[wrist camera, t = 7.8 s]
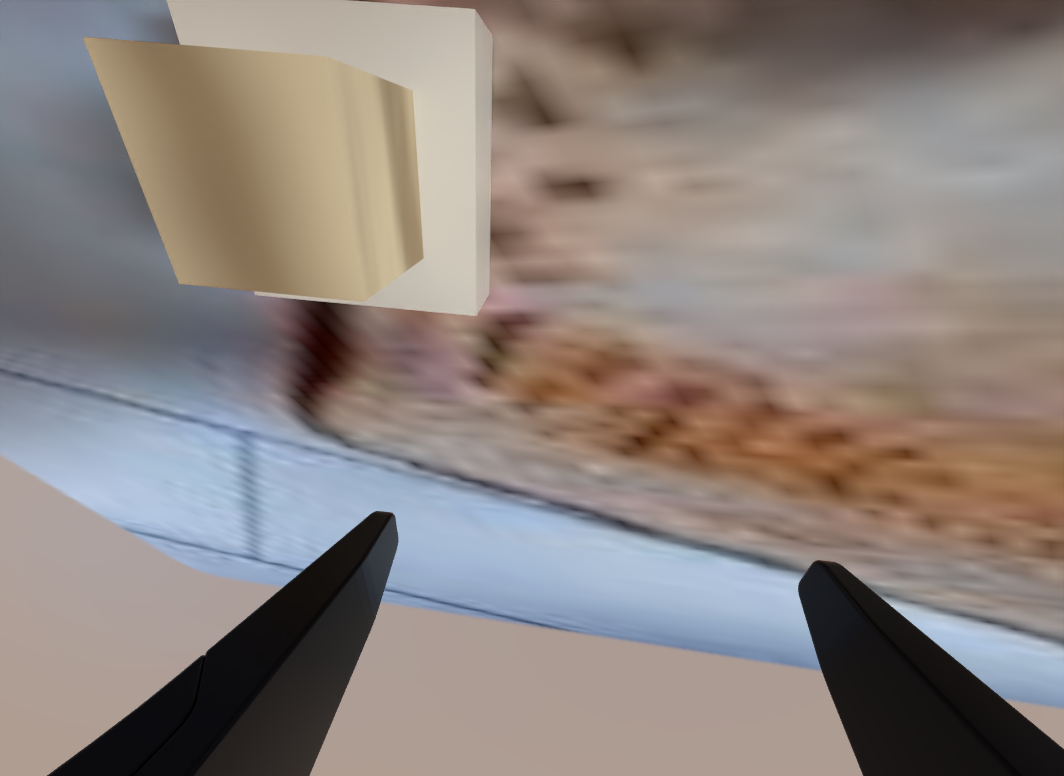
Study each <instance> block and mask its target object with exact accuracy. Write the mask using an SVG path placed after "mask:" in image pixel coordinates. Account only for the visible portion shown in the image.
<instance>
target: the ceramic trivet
mask: <svg viewBox="0 0 1064 776" xmlns="http://www.w3.org/2000/svg"><path fill="white" fill-rule="evenodd" d="M167 3H168V6H169V10H170V13H171V16H172V20H173V23H174V26H175V29H176V33H177V36H178V39H179V43H180V45H191V46H204V47H216V48H229V49H241V50H253V51H266V52H278V53H291V54H303V55H315V56H327V57H329V58H332V59H334V60H337V61H340V62H342V63H345V64H347V65H350V66H352V67H355V68H357V69H360V70H362V71H365V72H367V73H370V74H372V75H375V76H377V77H380V78H382V79H385V80H387V81H390V82H392V83H395V84H397V85H400V86H402V87H405V88H407V89H410V90H413V103H414V118H415V133H416V148H417V163H418V179H419V194H420V209H421V224H422V239H423V254H424V258H423V259H422V260H421V261H419V262H418V263H417V264H415V265H414V266H413V267H411V268H410V269H408V270H407V271H406V272H404V273H403V274H402V275H400V276H399V277H397V278H396V279H395V280H393V281H392V282H391V283H389V284H388V285H387V286H385V287H384V288H382V289H381V290H380V291H378V292H377V293H376V294H374V295H373V296H371V297H370V298H369V299H367V300H366V301H365V302H358V301H348V300H338V299H328V298H318V297H308V296H298V295H288V294H277V293H267V292H257V291H254V292H255V295H259V296H269V297H280V298H291V299H301V300H312V301H322V302H333V303H344V304H354V305H365V306H376V307H386V308H397V309H408V310H418V311H429V312H439V313H450V314H461V315H471V316H477V314H478V312H479V311H480V309H481V307H482V305H483V303H484V302H485V300H486V298H487V296H488V295H489V287H490V209H491V130H492V52H493V36H492V34H491V33H490V31H489V30H488V28H487V27H486V25H485V24H484V22H483V21H482V19H481V18H480V16H479V14H478V13H477V11H476V10H475V9H467V8H452V7H438V6H423V5H408V4H394V3H379V2H364V1H350V0H167Z"/></svg>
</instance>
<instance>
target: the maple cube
mask: <svg viewBox="0 0 1064 776" xmlns="http://www.w3.org/2000/svg"><path fill="white" fill-rule="evenodd" d="M83 39H84V42H85V44H86V47H87V50H88V52H89V55H90V57H91V60H92V62H93V65H94V67H95V70H96V73H97V75H98V78H99V80H100V83H101V85H102V88H103V90H104V93H105V96H106V98H107V101H108V103H109V106H110V108H111V111H112V113H113V116H114V119H115V121H116V124H117V126H118V129H119V131H120V134H121V136H122V139H123V142H124V144H125V147H126V149H127V152H128V154H129V157H130V159H131V162H132V165H133V167H134V170H135V172H136V175H137V177H138V180H139V182H140V185H141V188H142V190H143V193H144V195H145V198H146V200H147V203H148V205H149V208H150V211H151V213H152V216H153V218H154V221H155V223H156V226H157V228H158V231H159V234H160V236H161V239H162V241H163V244H164V246H165V249H166V251H167V254H168V257H169V259H170V262H171V264H172V267H173V269H174V272H175V274H176V277H177V280H178V282H179V284H187V285H197V286H207V287H217V288H227V289H237V290H247V291H257V292H267V293H277V294H288V295H298V296H308V297H318V298H328V299H338V300H348V301H358V302H365V301H366V300H367V299H369V298H370V297H371V296H373V295H374V294H376V293H377V292H378V291H380V290H381V289H382V288H384V287H385V286H387V285H388V284H389V283H391V282H392V281H393V280H395V279H396V278H397V277H399V276H400V275H402V274H403V273H404V272H406V271H407V270H408V269H410V268H411V267H413V266H414V265H415V264H417V263H418V262H419V261H421V260H422V259H423V258H424V254H423V239H422V224H421V209H420V194H419V179H418V163H417V148H416V133H415V118H414V103H413V90H410V89H407V88H405V87H402V86H400V85H397V84H395V83H392V82H390V81H387V80H385V79H382V78H380V77H377V76H375V75H372V74H370V73H367V72H365V71H362V70H360V69H357V68H355V67H352V66H350V65H347V64H345V63H342V62H340V61H337V60H334V59H332V58H329V57H327V56H315V55H303V54H291V53H278V52H266V51H253V50H241V49H229V48H216V47H204V46H191V45H179V44H167V43H154V42H142V41H129V40H117V39H105V38H92V37H83Z"/></svg>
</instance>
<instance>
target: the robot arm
mask: <svg viewBox="0 0 1064 776" xmlns="http://www.w3.org/2000/svg"><path fill="white" fill-rule="evenodd" d="M397 546H398V532H397V526H396V519H395V515H394V514H393V513H391V512H382V511H376V512H373V513H372V514H370V515H369V516H368V517H367V518H366V519H364V520H363V521H362V522H361V523H360V524H358V525H357V526H356V527H355V528H354V529H352V530H351V531H350V532H349V533H348V534H346V535H345V536H344V537H343V538H342V539H340V540H339V541H338V542H337V543H336V544H334V545H333V546H332V547H331V548H330V549H328V550H327V551H326V552H325V553H324V554H322V555H321V556H320V557H319V558H318V559H317V560H315V561H314V562H313V563H312V564H311V565H309V566H308V567H307V568H306V569H305V570H303V571H302V572H301V573H300V574H299V575H297V576H296V577H295V578H294V579H293V580H291V581H290V582H289V583H288V584H287V585H285V586H284V587H283V588H282V589H281V590H279V591H278V592H277V593H276V594H275V595H273V596H272V597H271V598H270V599H269V600H267V601H266V602H265V603H264V604H263V605H262V606H260V607H259V608H258V609H257V610H256V611H254V612H253V613H252V614H251V615H250V616H248V617H247V618H246V619H245V620H244V621H243V622H241V623H240V624H239V625H238V626H236V627H235V628H234V629H233V630H232V631H231V632H229V633H228V634H227V635H226V636H224V638H222V639H221V640H220V641H218V642H217V643H216V644H215V645H214V646H213V647H211V648H210V649H209V650H208V651H207V652H206V655H202V656H200V657H199V658H198V659H197V660H196V661H194V662H193V663H192V664H191V665H190V666H188V667H187V668H186V669H185V670H184V671H182V672H181V673H180V674H179V675H178V676H176V677H175V678H174V679H173V680H172V681H170V682H169V683H168V684H167V685H165V686H164V687H163V688H161V689H160V690H159V691H158V692H157V693H155V694H154V695H153V696H152V697H150V698H149V699H148V700H147V701H145V702H144V703H143V704H142V705H140V706H139V707H138V708H137V709H135V710H134V711H133V712H131V713H130V714H129V715H127V716H126V717H125V718H124V719H122V720H121V721H120V722H118V723H117V724H116V725H114V726H113V727H112V728H110V729H109V730H108V731H106V732H105V733H104V734H103V735H101V736H100V737H99V738H97V739H96V740H95V741H93V742H92V743H91V744H89V745H88V746H87V747H85V748H84V749H82V750H81V751H80V752H78V753H77V754H76V755H74V756H73V757H72V758H70V759H69V760H68V761H66V762H65V763H64V764H62V765H61V766H60V767H58V768H57V769H55V770H54V771H53V772H51V773H50V774H49V775H47V776H309V775H310V773H311V771H312V768H313V766H314V763H315V761H316V759H317V756H318V754H319V752H320V749H321V747H322V745H323V742H324V740H325V737H326V735H327V733H328V730H329V728H330V726H331V723H332V721H333V718H334V716H335V713H336V711H337V709H338V707H339V704H340V702H341V699H342V697H343V695H344V692H345V690H346V688H347V685H348V683H349V680H350V678H351V676H352V673H353V671H354V669H355V666H356V664H357V661H358V659H359V657H360V654H361V652H362V649H363V647H364V645H365V642H366V640H367V638H368V635H369V633H370V631H371V628H372V625H373V623H374V620H375V618H376V615H377V611H378V608H379V605H380V602H381V599H382V595H383V592H384V589H385V586H386V582H387V579H388V576H389V573H390V569H391V566H392V563H393V560H394V556H395V553H396V550H397ZM798 592H799V597H800V600H801V604H802V607H803V610H804V614H805V617H806V620H807V624H808V627H809V631H810V634H811V637H812V641H813V644H814V647H815V651H816V654H817V657H818V661H819V664H820V667H821V670H822V673H823V675H824V678H825V681H826V684H827V686H828V689H829V691H830V694H831V696H832V699H833V701H834V704H835V706H836V709H837V711H838V714H839V716H840V719H841V721H842V724H843V726H844V729H845V731H846V734H847V736H848V739H849V741H850V744H851V746H852V749H853V751H854V754H855V756H856V759H857V761H858V764H859V766H860V769H861V771H862V774H863V776H1064V749H1063V748H1062V747H1061V746H1059V745H1058V744H1057V743H1056V742H1055V741H1053V740H1052V739H1051V738H1050V737H1048V736H1047V735H1046V734H1045V733H1043V732H1042V731H1041V730H1040V729H1039V728H1038V727H1036V726H1035V725H1034V724H1033V723H1032V722H1030V721H1029V720H1028V719H1027V718H1026V717H1024V716H1023V715H1022V714H1021V713H1019V712H1018V711H1017V710H1016V709H1015V708H1013V707H1012V706H1011V705H1010V704H1009V703H1007V702H1006V701H1005V700H1004V699H1003V698H1001V697H1000V696H999V695H998V694H997V693H995V692H994V691H993V690H992V689H990V688H989V687H988V686H987V685H986V684H984V683H983V682H982V681H981V680H980V679H978V678H977V677H976V676H975V675H974V674H972V673H971V672H970V671H969V670H968V669H966V668H965V667H964V666H963V665H961V664H960V663H959V662H958V661H957V660H955V659H954V658H953V657H952V656H951V655H949V654H948V653H947V652H946V651H945V650H943V649H942V648H941V647H940V646H939V645H937V644H936V643H935V642H934V641H933V640H931V639H930V638H929V637H928V636H926V635H925V634H924V633H923V632H922V631H920V630H919V629H918V628H917V627H916V626H914V625H913V624H912V623H911V622H910V621H908V620H907V619H906V618H905V617H904V616H902V615H901V614H900V613H899V612H897V611H896V610H895V609H894V608H893V607H891V606H890V605H889V604H888V603H887V602H885V601H884V600H883V599H882V598H881V597H879V596H878V595H877V594H876V593H875V592H873V591H872V590H871V589H870V588H868V587H867V586H866V585H865V584H864V583H862V582H861V581H860V580H859V579H858V578H856V577H855V576H854V575H853V574H852V573H850V572H849V571H848V570H847V569H846V568H844V567H843V566H842V565H840V564H838V563H836V562H830V561H821V560H817V561H815V562H813V563H812V565H811V566H810V567H809V569H808V570H807V572H806V573H805V575H804V576H803V577H802V579H801V580H800V582H799V585H798Z"/></svg>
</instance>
